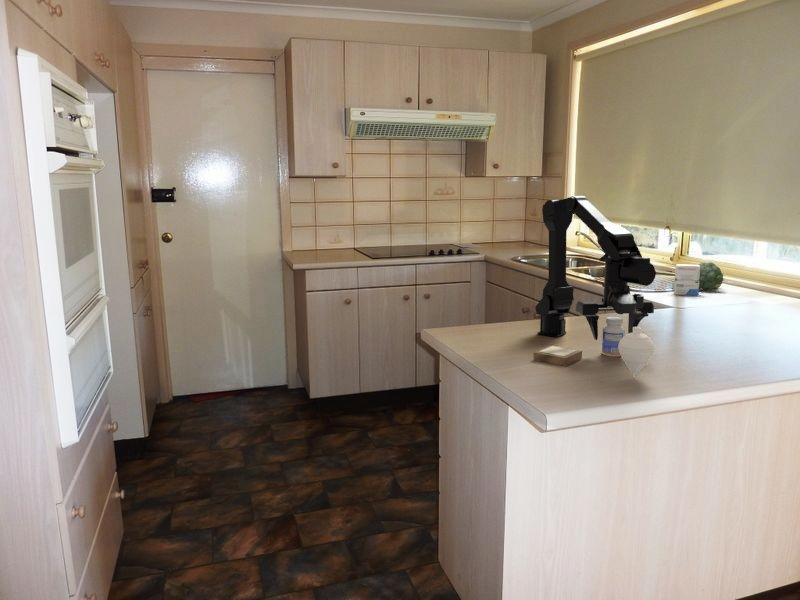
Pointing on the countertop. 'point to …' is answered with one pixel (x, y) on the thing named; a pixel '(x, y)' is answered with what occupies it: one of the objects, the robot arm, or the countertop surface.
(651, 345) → the spinning top
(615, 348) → the pill bottle
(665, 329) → the countertop surface
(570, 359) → the walnut picture frame
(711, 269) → the vegetable
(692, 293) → the ink box
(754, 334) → the countertop surface
